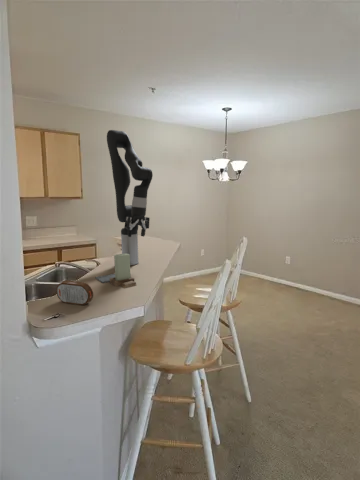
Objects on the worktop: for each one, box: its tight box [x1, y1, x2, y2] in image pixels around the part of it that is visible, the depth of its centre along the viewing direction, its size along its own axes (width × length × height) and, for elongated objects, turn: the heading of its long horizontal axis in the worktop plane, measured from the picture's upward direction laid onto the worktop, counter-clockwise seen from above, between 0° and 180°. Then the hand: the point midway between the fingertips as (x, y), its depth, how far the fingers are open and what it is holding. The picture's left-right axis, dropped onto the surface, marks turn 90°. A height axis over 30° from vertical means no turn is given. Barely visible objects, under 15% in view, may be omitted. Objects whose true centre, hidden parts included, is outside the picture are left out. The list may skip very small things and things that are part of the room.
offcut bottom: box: [120, 284, 137, 288], centre depth 140 cm, size 4×6×1 cm, turn 124°
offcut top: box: [121, 280, 137, 288], centre depth 140 cm, size 3×5×1 cm, turn 132°
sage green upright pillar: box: [113, 253, 132, 281], centre depth 144 cm, size 4×6×13 cm, turn 124°
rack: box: [109, 277, 135, 287], centre depth 145 cm, size 7×9×2 cm
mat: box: [95, 273, 115, 284], centre depth 152 cm, size 10×14×1 cm
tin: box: [55, 279, 94, 306], centre depth 119 cm, size 15×3×8 cm, turn 71°
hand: (136, 236), depth 167 cm, fingers open, 8 cm apart
